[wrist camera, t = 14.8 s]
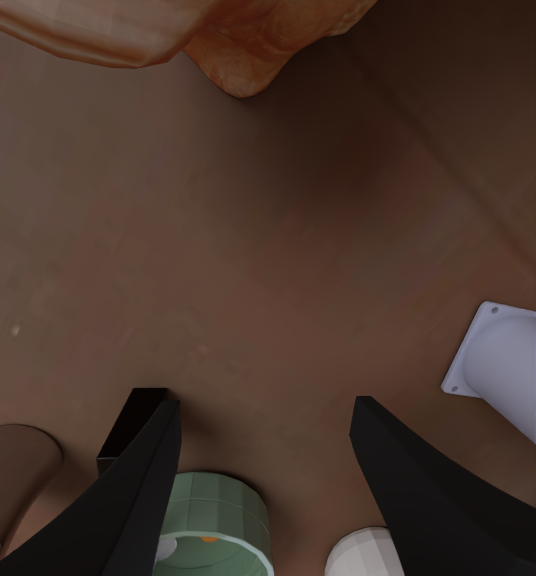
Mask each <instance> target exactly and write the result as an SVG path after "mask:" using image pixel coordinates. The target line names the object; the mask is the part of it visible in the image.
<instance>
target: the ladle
mask: <svg viewBox="0 0 536 576" xmlns="http://www.w3.org/2000/svg"><path fill="white" fill-rule="evenodd" d="M163 401H168V396H167V388H133V390H132V392H131V394H130V396H129V397H128V399H127V401H126V403H125V405H124V407H123V409H122V411H121V413H120V415H119V416H118V418H117V420H116V422H115V424H114V426H113V428H112V430H111V432H110V433H109V435H108V437H107V439H106V441H105V443H104V445H103V447H102V449H101V451H100V452H99V454H98V456H97V458H96V460H97V469H98V477H100V476H101V475H102V474H103V473H104V472H105V471H106V470H107V469H108V468H109V467H110V466H111V465H112V464H113V463H114V461H115V460H116V459H117V458H118V457H119V456H120V455H121V454H122V452H123V451H124V450H125V449H126V448H127V447H128V446H129V444H130V443H131V442H132V441H133V440H134V438H135V437H136V436H137V435H138V433H139V432H140V431H141V430H142V428H143V427H144V426H145V424H146V423H147V422H148V420H149V419H150V418H151V416H152V415H153V414H154V412H155V411H156V409H157V408H158V406H159V405H160V404H161V403H162V402H163ZM177 543H178V537H177V538H172V539H166V540H160V541H159V542H158V546H157V550H156V556H155V561H154V567H153V573H152V576H153V574H154V570H155V565H156V561H160V560H163V559H166V558H168V557H169V556H171V555H172V554H173V553H174V551H175V550H176V548H177Z"/></svg>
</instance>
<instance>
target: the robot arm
mask: <svg viewBox="0 0 536 576" xmlns="http://www.w3.org/2000/svg"><path fill="white" fill-rule="evenodd" d="M493 308H494V309H493ZM492 309H493V311H492ZM453 387H454V388H453ZM441 389H442V390H443V391H444V392H445V393H450V394H457V395H464V396H471V397H477V398H483V399H484V400H485V401H486V402H487V403H489V404H490V405H491V406H492V407H493V408H494V409H496V410H497V411H498V412H499V413H500V414H501V415H502V416H504V417H505V418H506V419H507V420H508V421H509V422H510V423H512V424H513V425H514V426H515V427H516V428H517V429H519V430H520V431H521V432H522V433H523V434H524V435H525V436H527V437H528V438H529V439H530V440H531V441H532V442H534V443H535V444H536V311H531V310H526V309H522V308H517V307H512V306H508V305H503V304H498V303H494V302H489V301H486V302H484V303H482V304H481V305H480V307H479V309H478V311H477V313H476V315H475V317H474V319H473V321H472V323H471V325H470V327H469V330H468V332H467V334H466V336H465V338H464V340H463V342H462V344H461V346H460V348H459V350H458V352H457V354H456V356H455V358H454V360H453V362H452V364H451V366H450V368H449V370H448V372H447V374H446V376H445V378H444V381H443V383H442V385H441ZM349 436H350V439H351V442H352V446H353V449H354V452H355V455H356V458H357V461H358V463H359V465H360V467H361V470H362V472H363V474H364V476H365V479H366V481H367V483H368V485H369V487H370V490H371V492H372V494H373V496H374V498H375V500H376V503H377V505H378V507H379V509H380V511H381V514H382V516H383V518H384V520H385V523H386V525H387V528H388V530H389V532H390V535H391V538H392V541H393V544H394V546H395V549H396V552H397V555H398V558H399V560H400V563H401V566H402V569H403V572H404V575H405V576H536V508H534V507H532V506H530V505H528V504H526V503H524V502H522V501H520V500H518V499H516V498H514V497H513V496H511V495H509V494H507V493H505V492H503V491H501V490H500V489H498V488H496V487H495V486H493V485H491V484H489V483H488V482H486V481H484V480H482V479H481V478H479V477H477V476H476V475H474V474H473V473H471V472H469V471H468V470H466V469H465V468H463V467H462V466H460V465H459V464H457V463H456V462H454V461H453V460H451V459H449V458H448V457H447V456H445V455H444V454H442V453H441V452H440V451H438V450H437V449H435V448H434V447H433V446H431V445H430V444H429V443H427V442H426V441H425V440H423V439H422V438H421V437H420V436H418V435H417V434H416V433H415V432H413V431H412V430H411V429H410V428H408V427H407V426H406V425H405V424H403V423H402V422H401V421H400V420H399V419H397V418H396V417H395V416H394V415H393V414H392V413H390V412H389V411H388V410H387V409H386V408H384V407H383V406H382V405H381V404H380V403H379V402H377V401H376V400H375V399H374V398H372V397H371V396H356V400H355V406H354V411H353V417H352V422H351V428H350V433H349ZM181 442H182V441H181V420H180V400H175V401H163V402H162V403H161V404H160V405H159V406H158V408H157V409H156V411H155V412H154V414H153V415H152V416H151V418H150V419H149V420H148V422H147V423H146V424H145V426H144V427H143V428H142V430H141V431H140V432H139V433H138V435H137V436H136V437H135V438H134V440H133V441H132V442H131V443H130V444H129V446H128V447H127V448H126V449H125V450H124V451H123V452H122V454H121V455H120V456H119V457H118V458H117V459H116V460H115V461H114V463H113V464H112V465H111V466H110V467H109V468H108V469H107V470H106V471H105V472H104V473H103V474H102V475H101V476H100V477H99V478H98V479H97V480H96V481H95V482H94V483H93V484H92V485H91V486H90V487H89V488H88V489H87V490H86V491H85V492H84V493H83V494H82V495H81V496H80V497H79V498H77V499H76V500H75V501H74V502H73V503H72V504H71V505H70V506H69V507H68V508H66V509H65V510H64V511H63V512H62V513H61V514H59V515H58V516H57V517H56V518H55V519H54V520H52V521H51V522H50V523H49V524H47V525H46V526H45V527H44V528H42V529H41V530H40V531H39V532H37V533H36V534H35V535H34V536H32V537H31V538H30V539H29V540H27V541H26V542H25V543H24V544H22V545H21V546H20V547H18V548H17V549H16V550H14V551H13V552H12V553H10V554H9V555H8V556H6V557H5V558H3V559H2V560H1V561H0V576H152V573H153V567H154V561H155V556H156V550H157V546H158V542H159V537H160V533H161V529H162V525H163V522H164V518H165V514H166V510H167V506H168V503H169V499H170V495H171V491H172V487H173V484H174V480H175V476H176V472H177V468H178V461H179V455H180V448H181Z"/></svg>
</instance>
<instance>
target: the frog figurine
mask: <svg viewBox="0 0 536 576" xmlns="http://www.w3.org/2000/svg"><path fill="white" fill-rule="evenodd" d="M376 1H377V0H0V31H2V32H4V33H6V34H9V35H11V36H13V37H15V38H17V39H20V40H22V41H24V42H26V43H28V44H31V45H33V46H35V47H37V48H39V49H42V50H44V51H46V52H48V53H50V54H53V55H55V56H57V57H59V58H64V59H69V60H74V61H79V62H85V63H90V64H95V65H100V66H105V67H110V68H132V69H137V68H142V67H147V66H151V65H156V64H161V63H166V62H168V61H169V60H170V59H172V58H173V57H174V56H175V55H176V54H177V53H179V52H180V51H181V50H183V51H184V52H185V53H186V54H187V55H188V56H189V57H190V58H191V59H192V60H193V61H194V62H195V63H196V64H197V65H198V67H199V68H200V69H201V70H202V71H203V72H204V73H205V74H206V75H207V77H208V78H209V79H210V80H211V81H212V82H213V83H214V84H215V85H216V86H217V87H219V88H220V89H222V90H223V91H224V92H226V93H227V94H229V95H231V96H234V97H236V98H244V97H250V96H254V95H256V94H257V93H259V92H261V91H263V90H265V89H266V88H267V86H268V85H269V84H270V83H271V82H272V81H273V80H274V78H275V77H276V76H277V74H278V73H279V71H280V70H281V68H282V67H283V65H284V64H285V63H286V62H287V61H288V60H289V59H290V58H291V57H292V56H293V55H294V54H295V53H297V52H298V51H299V50H301V49H302V48H304V47H306V46H308V45H309V44H311V43H313V42H315V41H316V40H318V39H320V38H322V37H326V36H335V35H340V34H344V33H345V32H347V31H348V30H349V29H350V28H351V27H352V26H353V25H355V24H356V23H357V22H358V21H359V20H360V19H361V18H362V17H363V16H364V15H365V13H366V12H367V11H368V10H369V9H370V8H371V7H372V6H373V5H374V4H375V3H376Z"/></svg>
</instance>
